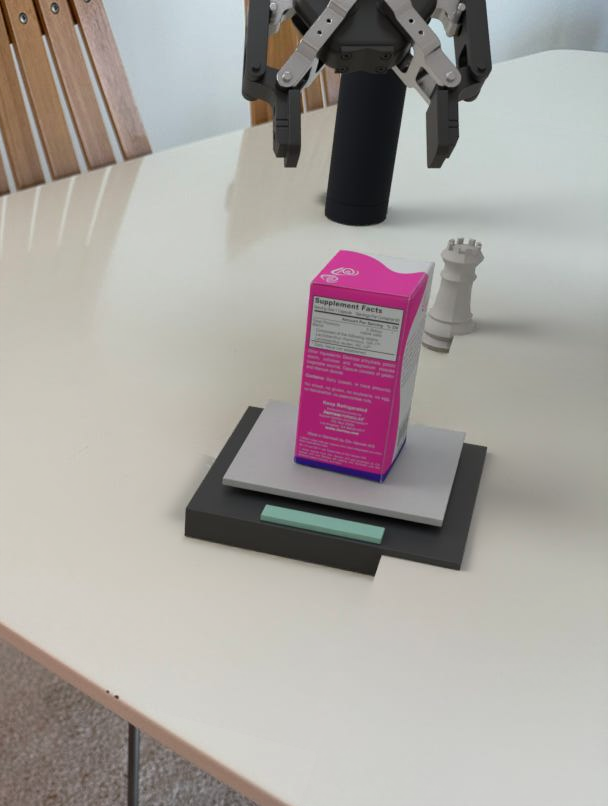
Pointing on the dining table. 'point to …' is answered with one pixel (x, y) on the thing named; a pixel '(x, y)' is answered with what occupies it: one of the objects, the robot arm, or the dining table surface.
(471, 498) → the kitchen scale
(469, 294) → the rook chess piece
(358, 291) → the supplement box
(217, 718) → the dining table surface
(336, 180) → the wine bottle
